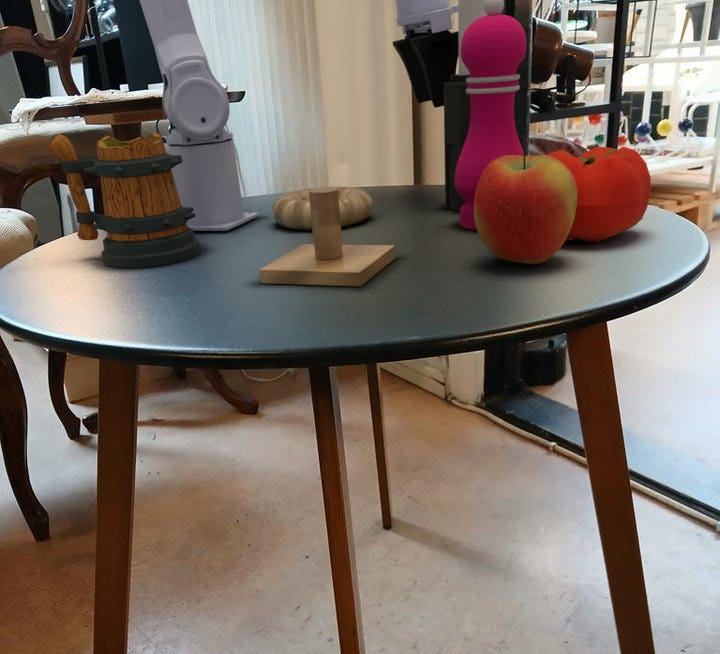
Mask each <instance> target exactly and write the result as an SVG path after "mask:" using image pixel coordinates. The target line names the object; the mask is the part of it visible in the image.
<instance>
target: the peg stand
mask: <svg viewBox="0 0 720 654" xmlns="http://www.w3.org/2000/svg"><path fill="white" fill-rule="evenodd" d="M322 187H323V188H321V187H314V188H315V189H312V190H310V191H309V198H310V209H311V219H312V230H311V231H312V238H313V243H310V244H309V243H303V244H300V245H299V246H297V247H295V248H294V249H292V250H291V251H289V252H286V253H285V254H284V255H282V256H280V257H278V258H277V259H275V260H273V261H271V262H270V263H268V264H266V265H265V266H263V267H261V268H259V277H260V283H261V284H271V285H272V284H275V285H276V284H277V285H299V286H300V285H301V286H330V287H331V286H332V287H333V286H334V287H356V288H357V287H359V288H361V287H362V286H363V285H364V284H366V283H367V282H368V281H370V280H371V279H372V278H373V277H375V276H376V275H377V274H378V273H379V272H380V271H383V269H385V268H386V267H387V266H388V265H389V264H391V263H392V262H393V261H394V260H395V259H396V246H395V245H392V244H391V245H389V244H387V245H386V244H385V245H384V244H343V238H342V227H341V224H340V211H339V198H338V189H337V188H334V187H335V186H322Z"/></svg>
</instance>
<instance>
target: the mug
mask: <svg viewBox="0 0 720 654" xmlns="http://www.w3.org/2000/svg"><path fill="white" fill-rule="evenodd" d="M146 136H147V137H136V138H134V139H132V140H125V141H121V140H120V139H117V138H115V137H113V136H110V135H105V136H104V137H102V138H100V139H97V140H96V142H95V143H96V152H97V160H96V159H84V160H81V159H78V157H77V154H76V151H75V149H74V146H73V144H72V142H71V141H70V139H69V138H68V137H67V136H65V135H64V134H61V133H59V134H57V135H55V136H53V138H52V139H51V140H50V141H49V143H48V148H49V150H50V151H51V152H52V153H53V154H54V155H56V156H57V157H58V158H60V159H61V160H62V161H61V162H60V164H61V169H62V173H63V174H66V180H67V186H68V191H69V193H70V198H71V200H72V203H73V204H74V207H75V209H76V212H75V219H76V223H77V224H79V225H78V229H77V233H76V235H77V237H78V239H79V240H82V241H96V240H98V238H99V231H98V230H100V231H104V232H106V236H105V238H104V239H102V245H103V250H102V251H101V252H100V254H101V259H102V263H103V264H104V265H105V266H106V267H111V268H116V269H143V268H152V267H159V266H165V265H170V264H175V263H179V262H182V261H185V260H190V259H191V258H193V257H195V256H197V255H199V254H200V252H201V243H200V239H198V238H196V236H195V233H194V231H193V229H191V228H190V227H187V223H186V222H187V221H188V220H189V219H191V218H194V217H195V213H191V212H192V211H194V209H193V207H187V208H185V207H182V206H181V202H180V199H179V195H178V192H177V188H176V185H175V181H174V178H173V174H172V171H171V169H172V168H174V166H176V165H178V164H180V163H182V162H183V160H182V159H181V158H182V157H181V155H171V154H168V153H166V149H165V146H164V143H165V142H164V139H163V136H162V135H161V134H160V133H159V132H152V133H148V134H146ZM82 171H84V173H87V174H91V175H94V176H97V177H100V187H101V194H102V203H103V211H104V212H103V213H104V214H98V213H95V211H94V210H91V209H92V208H91V205H90V201H89V198H88V196H87V192H86V189H85V185H84V181H83V179H82V175H81V172H82Z"/></svg>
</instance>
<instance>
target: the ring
mask: <svg viewBox="0 0 720 654" xmlns="http://www.w3.org/2000/svg"><path fill="white" fill-rule="evenodd" d="M323 187H324V186H321V187H320V188H323ZM333 187H334V188H337V189H338V198H339V211H340V224H341V228H344V227H348V226H353V225H356V224H359V223H361V222H363V221H364V220H366V219H367V218H369V217H370V216H371V214H372V213H373V210H374V201H373V198H372V197H371V195H370V194H369V193H368V192H366V191H365V190H364V189H362V188H359V187H351V186H333ZM315 188H316V187H312V188H304V189H300V190H295V191H290V192H287V193H284V194H282V195H280V196H278V197H277V198H276V199H275V200H274V202H273V204H272V206H271V207H272V209H271V210H272V215H273V217H274V220H275V222H276V223H277V224H278V225H279V226H281V227H283V228H288V229H293V230H297V231H298V230H299V231H313V230H312V219H311V209H310V198H309V191H310V190H312V189H315Z"/></svg>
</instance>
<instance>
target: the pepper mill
mask: <svg viewBox="0 0 720 654" xmlns="http://www.w3.org/2000/svg"><path fill="white" fill-rule="evenodd" d="M504 7H505V1H504V0H486V1H485V3H484V10H485V12H486V14H487V16H483V17H481V18H479V19H477V20H475V21H474V22H472V23H471V24H470V25H469V26H468V28H467V29H466V31H465V32H464V35H463V38H462V42H461V59H462V61H463V63H464V65H465V66H466V68H467V69H468V70H469V72H470V77H468V78H467V79H466V82H467V83H468V85H467V87H468V88H467V89H466V93H468V94H470V100H471V119H470V126H469V131H468V135H467V138H466V141H465V144H464V146H463V149H462V152H461V154H460V157H459V160H458V163H457V168H456V172H455V187H456V190H457V191H458V193H459V194H460V195H461V197H462V198H463V199H464V201H465V203H466V204H465V205H463V206H462V207H461V208H460V212H459V226H460V227H461V228H463V229H465V230H469V231H477V228H476V224H475V218H474V199H475V193H476V189H477V186H478V183H479V180H480V177H481V175H482V173H483V171H484V170H485V168H486V167H487V165H488V164H489V163H490V162H492V161H493V160H494V159H496V158H498V157H501V156H505V155H518V156H524V152H523V146H522V144H521V142H520V139H519V135H518V132H517V128H516V122H515V100H516V99H515V98H516V92H517V91H519V90H520V88H521V86H520V85H519V84H520V83H519V82H520V81H519V80H520V79H521V75H520V74H519V73H517V69H518V67H519V65H520V64H521V63H522V62H523V61H524V58H525V56H526V53H527V45H528V44H527V36H526V32H525V29H524V27H523V26H522V24H521V23H520V21H518V20H517V18H514V17H512V16H511V15H507V14H502V12H503V10H504Z"/></svg>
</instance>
